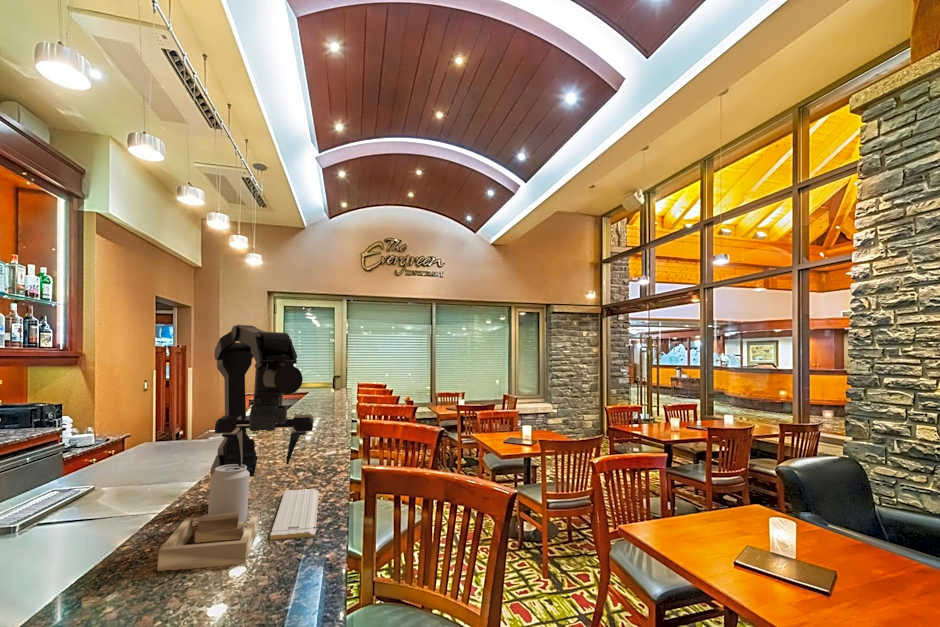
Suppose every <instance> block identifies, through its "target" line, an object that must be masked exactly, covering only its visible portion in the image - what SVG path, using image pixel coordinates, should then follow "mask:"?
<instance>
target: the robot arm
mask: <svg viewBox="0 0 940 627" xmlns="http://www.w3.org/2000/svg"><path fill="white" fill-rule="evenodd" d="M290 337H291V336H290V335H289V334H288V333H287V332H278V331H277V332H276V331H265V330H262V329H259V328H257V327H256V326H254V325H247V324H246V325H245V324H236V325H233V326H232V328H231V330H230V331H229V332H228V333H226V334H225V335H222V337H220V338H219V339H218V342H216V343H217V344H216V346H215V348H214V353H213V354H214V360H215V361H216V369H217V370H218V372H219V373H220V374H221V376H222V377H223V378H224V379H223V380H224V415H223V416H221V417H219V418H218V419H217V420H216V421H215V424H214V433H215V434H221V437H222V438H223V440H222V441H221V442H220V444H219V446H218V448H217V455H215V459H214V460H213V463H212V465H211V468H210V476H211V475H212V474H213V473H214V472H215V468H217V467H219V466H223V465H230V464H238V465H239V466H241V465H246V466H247V468H246V470H247V471H248V472H249V473H250V477H254V475H255V472H256V468H257V462H258V459H259V458H258V455H257V452H256V449H255V445H256V444H255V442H256V441H254V438H252V439H251V438H250V436H249V435H248V434H247V429H249V431H251V432H257V431H267V432H272V431H275V429H276V428H278V429H279V428H292V430H291V433H290V436H289V437H290V438H289V443H288V444H289V445H288V448H287V454H286V465H289V463H290V461H291V458H292V456H293V453H294V449H295V447H296V445H297V443H298V441H299V439H300V437H301V436H306V435H307V432H311V431H313V430H314V429H313V428H314V416H313V415H312V414H294V417H293V418H287V417H288V405H285V404H284V405H283V398H284V395H291V394H294V393H296V392H298V390H299V389H300V388H301V386H302V384H303V375H302V372H301V370H300V369H299V368H297V367H296V366H295V364H297V363H298V360H297V359H298V355H297V352H296V350H295V349H296V348H295V347H294V346H295V345H294V344H293V340H292V338H290ZM253 359H254V361H255V364H254V368H255V376H254V389H253V403H252V405H251V409H250V412H249V415H248V416H249V418H248V419H247V408H246V374H247V373H248V371H249V369H250V368H251V366H252V364H253V363H252V361H253Z"/></svg>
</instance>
